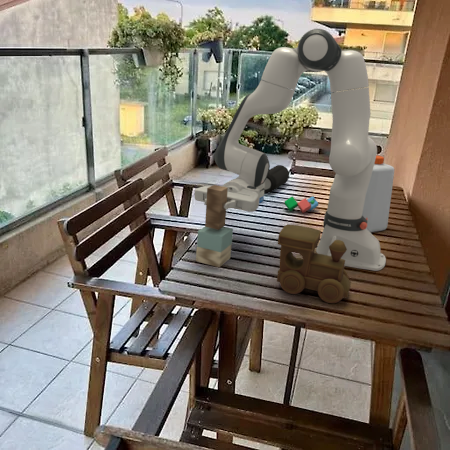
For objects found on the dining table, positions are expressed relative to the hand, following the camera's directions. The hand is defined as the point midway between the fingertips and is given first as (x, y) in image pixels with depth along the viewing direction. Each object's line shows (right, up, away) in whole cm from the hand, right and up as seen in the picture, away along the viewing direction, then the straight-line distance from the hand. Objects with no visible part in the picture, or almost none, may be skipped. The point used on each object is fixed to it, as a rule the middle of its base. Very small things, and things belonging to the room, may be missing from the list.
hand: (215, 204), depth 132 cm
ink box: (+15, +5, +68) cm, 70 cm away
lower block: (-1, -17, +7) cm, 18 cm away
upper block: (0, -12, +6) cm, 13 cm away
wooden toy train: (+27, -24, -8) cm, 37 cm away
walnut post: (0, -6, +3) cm, 7 cm away
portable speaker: (+26, +12, +89) cm, 94 cm away
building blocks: (+35, 0, +59) cm, 68 cm away
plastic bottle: (+58, -7, +46) cm, 74 cm away
